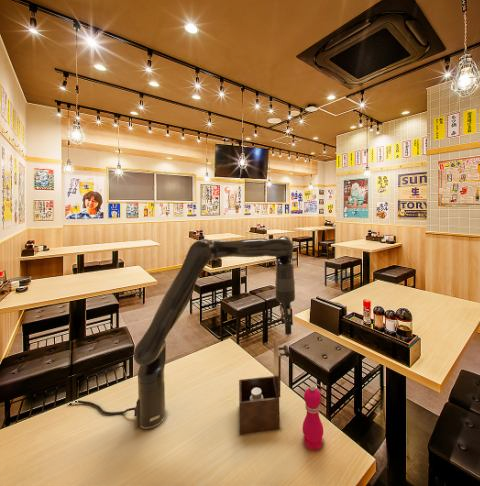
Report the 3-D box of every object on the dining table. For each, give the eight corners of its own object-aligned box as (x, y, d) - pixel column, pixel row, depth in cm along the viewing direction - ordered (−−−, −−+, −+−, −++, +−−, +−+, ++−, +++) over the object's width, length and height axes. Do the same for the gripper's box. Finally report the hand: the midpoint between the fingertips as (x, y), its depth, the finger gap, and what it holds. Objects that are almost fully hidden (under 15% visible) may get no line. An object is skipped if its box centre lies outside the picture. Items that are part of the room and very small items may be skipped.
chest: (239, 434, 92) (239, 403, 92) (239, 407, 105) (239, 379, 105) (279, 429, 95) (279, 398, 94) (274, 403, 107) (274, 375, 107)
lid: (278, 356, 94) (292, 355, 94) (273, 338, 106) (285, 337, 107) (278, 397, 94) (291, 396, 95) (273, 374, 107) (285, 373, 107)
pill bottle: (250, 409, 103) (250, 386, 102) (264, 409, 102) (263, 386, 102) (249, 421, 97) (248, 396, 97) (263, 421, 97) (262, 396, 97)
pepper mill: (310, 455, 85) (309, 396, 84) (298, 437, 91) (298, 382, 90) (327, 445, 88) (327, 388, 87) (315, 429, 94) (314, 376, 94)
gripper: (273, 282, 106) (274, 321, 107) (278, 294, 92) (279, 339, 93) (290, 281, 107) (291, 319, 108) (298, 293, 93) (299, 337, 94)
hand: (286, 328), depth 100 cm, fingers open, 8 cm apart
